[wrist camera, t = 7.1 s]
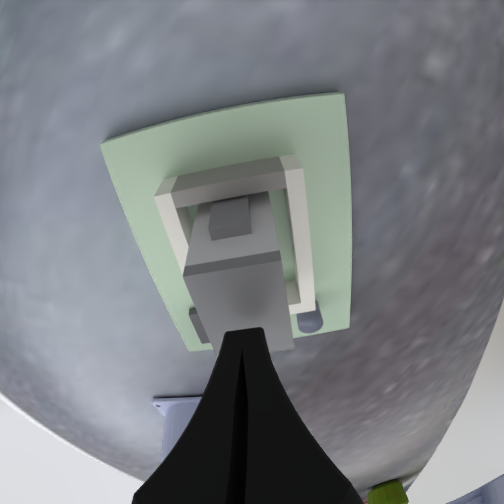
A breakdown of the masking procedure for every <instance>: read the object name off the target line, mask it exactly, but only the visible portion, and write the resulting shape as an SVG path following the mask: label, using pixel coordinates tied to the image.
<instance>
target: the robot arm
mask: <svg viewBox="0 0 504 504" xmlns="http://www.w3.org/2000/svg"><path fill="white" fill-rule="evenodd" d="M151 403H152V404H153V406H154V407H155V408H156V409H157V410H158V411H159V412H160V413H161V414H162V415H163V417H164V418H165V422H164V430H163V439H162V449H161V459H160V465H159V467H158V468H157V469H156V471H155V472H154V473H153V474H152V475H151V476H150V477H149V478H148V480H147V481H146V482H145V483H144V484H143V485H142V486H141V487H140V488H139V489H138V490H137V491H136V492H135V493H134V496H133V500H132V504H364V503H363V501H362V499H361V498H360V496H359V495H358V493H357V492H356V490H355V489H354V487H353V486H352V484H351V482H350V481H349V480H348V479H347V478H346V477H345V476H344V475H343V474H342V472H341V471H340V470H339V469H338V468H337V467H336V466H335V464H334V463H333V462H332V461H331V460H330V458H329V457H328V456H327V455H326V453H325V452H324V451H323V449H322V448H321V447H320V445H319V444H318V443H317V441H316V440H315V439H314V437H313V436H312V435H311V433H310V432H309V430H308V429H307V427H306V426H305V424H304V423H303V421H302V420H301V418H300V416H299V415H298V413H297V412H296V410H295V408H294V406H293V405H292V403H291V401H290V399H289V398H288V396H287V394H286V392H285V390H284V388H283V386H282V384H281V382H280V380H279V377H278V375H277V373H276V371H275V368H274V366H273V363H272V361H271V357H270V353H269V349H268V345H267V341H266V336H265V332H264V328H262V327H255V328H248V329H241V330H233V331H226V333H225V334H224V337H223V341H222V345H221V348H220V351H219V355H218V358H217V361H216V364H215V366H214V369H213V372H212V374H211V377H210V379H209V382H208V384H207V387H206V389H205V391H204V393H203V395H202V397H185V398H157V399H152V401H151ZM446 504H504V474H503V475H501V476H499V477H497V478H496V479H494V480H492V481H491V482H488V483H487V484H485V485H483V486H482V487H480V488H478V489H476V490H474V491H472V492H470V493H468V494H466V495H464V496H462V497H460V498H458V499H456V500H454V501H451V502H449V503H446Z"/></svg>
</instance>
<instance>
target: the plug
mask: <svg viewBox="0 0 504 504" xmlns="http://www.w3.org/2000/svg"><path fill="white" fill-rule="evenodd" d="M183 279H184V282H185V284H186V287H187V289H188V291H189V294H190V296H191V299H192V301H193V304H194V306H195V308H196V311H197V313H198V315H199V318H200V320H201V322H202V325H203V327H204V329H205V331H206V334H207V336H208V338H209V341H210V343H211V345H212V347H213V349H214V352H215V354H216V356H217V358H218V355H219V351H220V348H221V345H222V341H223V337H224V334H225V333H226V331H233V330H241V329H248V328H255V327H262V328H264V332H265V336H266V341H267V345H268V349H269V353H270V352H277V351H283V350H289V349H295V347H294V340H293V333H292V326H291V319H290V312H289V306H288V299H287V292H286V286H285V279H284V273H283V266H282V260H281V255H280V249H279V244H278V239H277V234H276V229H275V223H274V218H273V213H272V208H271V203H270V198H269V193H268V191H265V192H260V193H254V194H248V195H243V196H237V197H232V198H226V199H221V200H216V201H211V202H206V203H201V204H198V208H197V213H196V217H195V221H194V226H193V230H192V235H191V239H190V244H189V248H188V253H187V258H186V262H185V267H184V272H183Z"/></svg>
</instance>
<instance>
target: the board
mask: <svg viewBox="0 0 504 504" xmlns="http://www.w3.org/2000/svg"><path fill="white" fill-rule="evenodd" d="M99 145H100V148H101V151H102V154H103V157H104V160H105V163H106V165H107V168H108V171H109V174H110V177H111V179H112V182H113V185H114V187H115V190H116V193H117V195H118V198H119V200H120V203H121V206H122V208H123V211H124V213H125V216H126V218H127V221H128V223H129V225H130V228H131V230H132V233H133V235H134V237H135V240H136V242H137V245H138V247H139V249H140V251H141V254H142V256H143V258H144V261H145V263H146V265H147V267H148V269H149V272H150V274H151V276H152V278H153V280H154V283H155V285H156V287H157V289H158V291H159V293H160V295H161V297H162V299H163V302H164V304H165V306H166V308H167V310H168V312H169V314H170V316H171V318H172V320H173V322H174V324H175V326H176V328H177V330H178V332H179V334H180V335H181V337H182V339H183V341H184V343H185V345H186V347H187V349H188V351H189V352H191V351H201V350H211V349H213V347H212V345H211V343H210V341H209V338H208V336H207V334H206V331H205V329H204V327H203V325H202V322H201V320H200V318H199V315H198V313H197V311H196V308H195V306H194V304H193V301H192V299H191V296H190V294H189V291H188V289H187V287H186V284H185V282H184V279H183V272H184V267H185V262H186V258H187V253H188V248H189V244H190V239H191V235H192V230H193V226H194V221H195V217H196V213H197V208H198V204H201V203H206V202H211V201H216V200H221V199H226V198H232V197H237V196H243V195H248V194H254V193H260V192H265V191H268V193H269V198H270V203H271V208H272V213H273V218H274V223H275V229H276V234H277V239H278V244H279V249H280V255H281V260H282V266H283V273H284V279H285V286H286V292H287V299H288V306H289V312H290V319H291V326H292V333H293V338H297V337H303V336H309V335H314V334H320V333H325V332H330V331H335V330H341V329H346V328H349V321H350V302H351V274H352V203H351V175H350V156H349V141H348V128H347V116H346V105H345V96H344V94H343V93H341V92H330V93H320V94H310V95H302V96H294V97H286V98H279V99H272V100H266V101H259V102H253V103H248V104H242V105H237V106H232V107H227V108H222V109H217V110H212V111H208V112H203V113H199V114H194V115H190V116H186V117H182V118H178V119H174V120H170V121H166V122H163V123H159V124H156V125H152V126H148V127H145V128H142V129H138V130H135V131H132V132H128V133H125V134H122V135H119V136H116V137H113V138H110V139H107V140H105V141H103V142H102V143H101V144H99Z"/></svg>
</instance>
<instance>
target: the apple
mask: <svg viewBox="0 0 504 504" xmlns="http://www.w3.org/2000/svg"><path fill="white" fill-rule="evenodd" d="M408 502H409V501H408V498H407V495H406V493H405V491H404V489H403V486H402V482H398V481H395V480H392V481H389V482H386V483H383V484H380V485H378V486H376V487H374V488H373V489H372V490H371V491H370V492H369V493H368V504H408Z"/></svg>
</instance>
